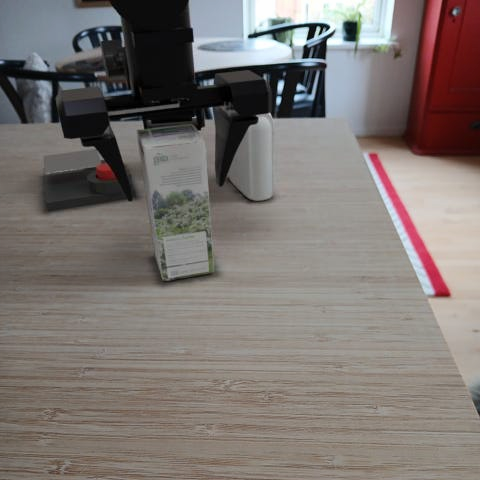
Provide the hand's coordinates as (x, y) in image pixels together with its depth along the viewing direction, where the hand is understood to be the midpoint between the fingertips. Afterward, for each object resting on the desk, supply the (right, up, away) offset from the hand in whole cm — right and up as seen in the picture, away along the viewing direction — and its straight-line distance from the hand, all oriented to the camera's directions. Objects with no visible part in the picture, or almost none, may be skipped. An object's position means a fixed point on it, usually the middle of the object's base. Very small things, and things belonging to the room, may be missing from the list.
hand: (175, 192), depth 51 cm
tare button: (-12, +7, +20) cm, 25 cm away
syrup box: (0, -7, +5) cm, 9 cm away
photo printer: (+8, +6, +22) cm, 24 cm away
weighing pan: (-18, +10, +25) cm, 32 cm away
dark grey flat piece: (-16, +7, +25) cm, 30 cm away
